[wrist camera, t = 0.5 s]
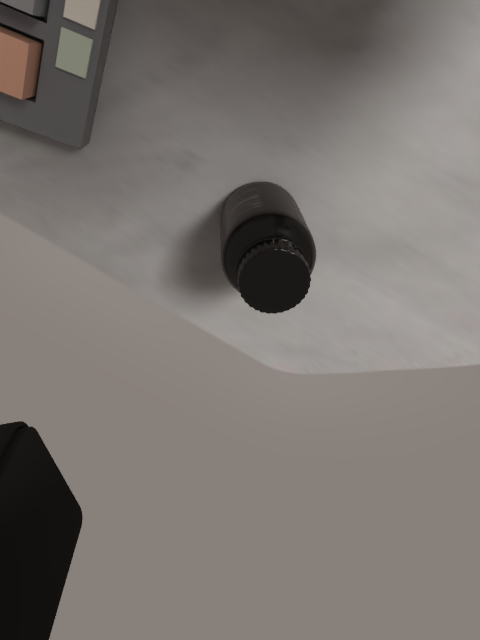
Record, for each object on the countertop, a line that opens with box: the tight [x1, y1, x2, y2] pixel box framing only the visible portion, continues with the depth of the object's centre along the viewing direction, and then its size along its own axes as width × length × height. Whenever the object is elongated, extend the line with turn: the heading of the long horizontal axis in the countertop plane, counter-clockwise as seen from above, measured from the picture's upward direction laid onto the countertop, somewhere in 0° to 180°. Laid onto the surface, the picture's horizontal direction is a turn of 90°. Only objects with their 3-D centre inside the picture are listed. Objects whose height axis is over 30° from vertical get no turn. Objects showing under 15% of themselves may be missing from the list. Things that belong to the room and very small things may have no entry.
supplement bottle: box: [220, 182, 316, 313], centre depth 34 cm, size 7×7×12 cm
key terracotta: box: [0, 26, 42, 100], centre depth 30 cm, size 3×3×2 cm
